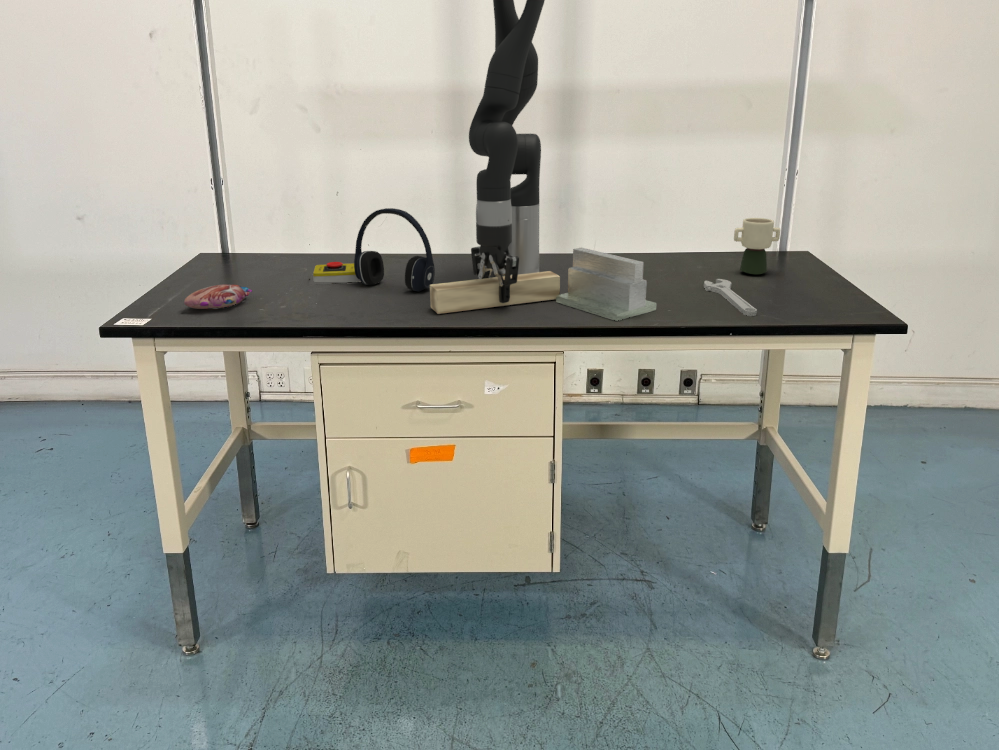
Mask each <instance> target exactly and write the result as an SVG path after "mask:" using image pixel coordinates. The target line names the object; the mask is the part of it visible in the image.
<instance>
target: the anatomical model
mask: <svg viewBox="0 0 999 750" xmlns="http://www.w3.org/2000/svg"><path fill="white" fill-rule="evenodd" d="M252 292H253V290H252V289H250V288H249V287H246V286H241V285H239V284H226V283H225V284H217V285H216V284H215V285H211V286H207V287H204V288H200V289H198V290H195V291H194V292H192V293H190V294H189V295H188V296H186V297H185V298H184V301H183V304H184V305H185V306H187V307H188V308H192V309H198V310H209V309H208V308H223V309H225V308H224V307H227V308H230V307H229V306H231V307H233V306H232V305H234V306H236V305H238V304H241V302H243V301H244V299H245V298H246V297H248V296H249V295H250V293H252ZM235 304H236V305H235Z"/></svg>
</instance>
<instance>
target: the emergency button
mask: <svg viewBox="0 0 999 750" xmlns="http://www.w3.org/2000/svg"><path fill="white" fill-rule="evenodd" d="M312 275H313V281H314V282H356V281H357V282H359V281H360V279H358V278H357V277H356V274H355V270H354V262H353V263H343V262H341V261H331V262H327V263H326V264H316V265H315V266H314V269H313V272H312Z"/></svg>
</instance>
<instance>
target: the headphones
mask: <svg viewBox="0 0 999 750" xmlns="http://www.w3.org/2000/svg"><path fill="white" fill-rule="evenodd" d="M383 214H386V215H387V214H389V215H390V214H392V215H396V216H399V217H401V218H403V219H405V220H406V221H407V222H408V223H409V224H410V225H412V227H413V228H414V229H415V230H416V232H417V233H418V235H419V237H420V239H421V240H422V243H423V245H424V246H423V247H424V249H425V256H426V257H425V256H420V255H415V256H413V257H411V258H409V259H408V261H407V263H406V265H405V266H406V267H405V269H404V272H405V273H404V284H405V287H406V288H407V289H409V290H411V291H415V292H422V291H424V290H425V289H430V285H431V284H434V281H435V277H436V276H435V275H436V274H435V273H436V272H435V271H436V268H435V263H434V259H433V252H432V248H431V247H432V246H431V244H430V241H429V238H428V236H427V234H426V232H425V230H424V229H423V227H422V225H421V223H419V221H418V220H417V219H416V218H415V217H414V216H413V215H412V214H410V213H408V212H407V211H406V210H403V209H399V208H391V207H390V208H385V207H384V208H380V209H377V210H374V211H373V212H371V213H370V214H369V215H368V216H366V218H365V219H364V220H363V222H362V224H361V226H360V228H359V230H358V233H357V237H356V242H355V248H354V249H355V251H354V259H353V260H354V261H353V263H354V270H355V274H356V277H357V278H358V279H360V281H361V282H362V283H361V284H363V285H366V286H371V285H377V284H379V283H381V282H382V280H384V277H385V266H384V261H383V258H382V255H381V254H380V253H379V252H378V251H377V250H376V251H375V250H365V251H364V250H362V246H363V245H362V244H363V238H364V234H365V231H366V229H367V228H368V226H369V224H370V223H371V222H372V221H373V220H374V219H375V218H377V217H378V216H380V215H383Z"/></svg>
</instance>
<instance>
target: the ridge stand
mask: <svg viewBox="0 0 999 750" xmlns="http://www.w3.org/2000/svg"><path fill="white" fill-rule="evenodd" d="M567 274H568V275H567V276H568V277H567V278H568V279H567V292H565V293H561V294H560V295H556V299H555V303H558V304H561V305H562V306H566V307H569V308H573V309H576V310H579V311H583V312H585V313H589V314H592V315H595V316H598V317H601V318H605V319H608V320H611V321H614V320H615V321H614V322H619V321H622V319H623V320H626V319H630V318H633V317H635V316H636V317H637V316H640V315H643V314H647V313H651V312H653V311H657V302H654V301H651V300H647V285H648V284H647V283H648V282H647V281H648V280H647V279H644V261H641V260H636V259H632V258H627V257H623V256H618V255H616V254H615V255H614V254H611V253H607V252H604V251H603V252H602V251H599V250H598V251H597V250H593V249H590V248H585V247H577V248H573V249H572V267H568V271H567ZM629 317H630V318H629ZM618 320H619V321H618Z"/></svg>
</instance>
